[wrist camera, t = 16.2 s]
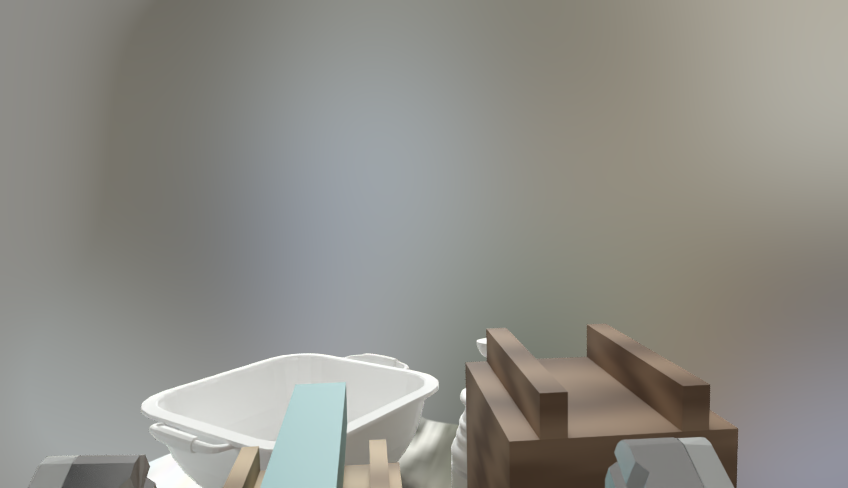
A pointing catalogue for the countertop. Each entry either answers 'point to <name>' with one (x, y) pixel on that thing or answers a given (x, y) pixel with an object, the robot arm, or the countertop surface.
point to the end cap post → (579, 411)
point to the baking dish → (267, 404)
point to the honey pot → (462, 438)
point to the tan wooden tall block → (361, 484)
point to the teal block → (311, 439)
